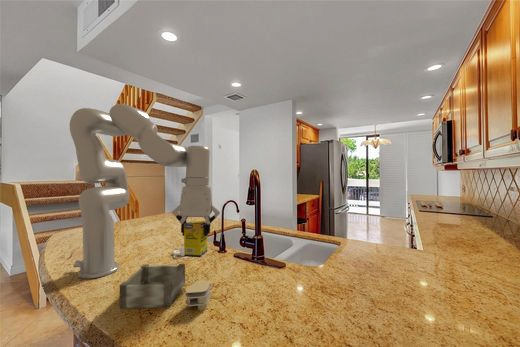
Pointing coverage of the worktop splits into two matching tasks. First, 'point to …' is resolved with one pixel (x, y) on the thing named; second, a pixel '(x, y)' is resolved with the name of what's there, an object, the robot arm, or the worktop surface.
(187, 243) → the supplement box
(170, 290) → the crate
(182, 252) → the teacup and saucer
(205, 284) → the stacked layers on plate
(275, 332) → the worktop surface
